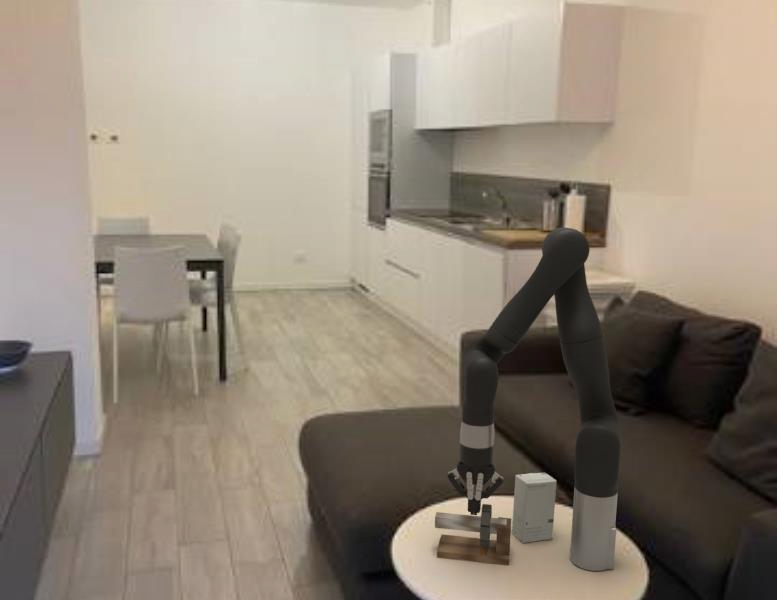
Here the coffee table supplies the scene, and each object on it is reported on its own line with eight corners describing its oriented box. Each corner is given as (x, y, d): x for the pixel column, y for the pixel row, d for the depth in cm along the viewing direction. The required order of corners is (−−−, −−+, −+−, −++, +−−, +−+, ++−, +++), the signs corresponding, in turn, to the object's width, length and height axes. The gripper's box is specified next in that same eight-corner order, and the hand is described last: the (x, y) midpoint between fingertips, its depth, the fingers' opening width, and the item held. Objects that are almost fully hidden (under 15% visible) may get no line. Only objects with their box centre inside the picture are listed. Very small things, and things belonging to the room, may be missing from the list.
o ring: (490, 534, 179) (492, 499, 177) (488, 552, 171) (489, 516, 169) (481, 533, 179) (483, 498, 178) (479, 551, 171) (480, 515, 169)
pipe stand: (510, 547, 178) (511, 513, 177) (508, 565, 171) (510, 530, 169) (436, 539, 181) (437, 506, 180) (432, 556, 174) (433, 522, 172)
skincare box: (522, 544, 180) (525, 484, 177) (510, 532, 186) (513, 473, 183) (554, 539, 183) (557, 480, 180) (541, 527, 188) (545, 470, 185)
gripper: (507, 437, 173) (504, 509, 177) (449, 432, 176) (446, 503, 179) (506, 449, 166) (502, 524, 169) (445, 444, 168) (442, 518, 172)
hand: (473, 513), depth 174 cm, fingers closed
